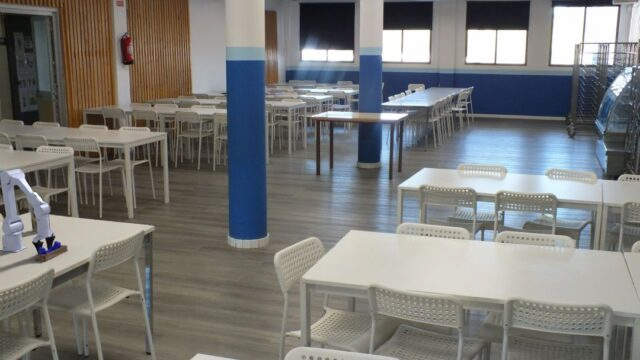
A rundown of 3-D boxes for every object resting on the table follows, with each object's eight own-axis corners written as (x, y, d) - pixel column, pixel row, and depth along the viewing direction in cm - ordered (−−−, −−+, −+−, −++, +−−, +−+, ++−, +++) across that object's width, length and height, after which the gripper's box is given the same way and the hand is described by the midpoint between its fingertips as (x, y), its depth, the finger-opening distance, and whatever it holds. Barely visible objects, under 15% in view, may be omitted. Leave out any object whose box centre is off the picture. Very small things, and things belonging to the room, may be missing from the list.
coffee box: (51, 230, 389) (48, 204, 386) (41, 233, 384) (38, 206, 380) (41, 228, 394) (39, 202, 390) (31, 230, 388) (29, 204, 385)
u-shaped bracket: (35, 260, 335) (35, 255, 335) (57, 249, 353) (57, 244, 352) (46, 261, 334) (45, 255, 333) (67, 250, 351) (67, 245, 350)
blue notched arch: (53, 250, 349) (54, 240, 347) (59, 253, 348) (60, 242, 346) (35, 257, 338) (36, 246, 337) (42, 259, 337) (43, 249, 335)
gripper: (40, 231, 333) (42, 256, 336) (58, 223, 347) (60, 248, 350) (28, 229, 335) (30, 255, 338) (47, 222, 348) (48, 246, 351)
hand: (44, 251), depth 344 cm, fingers open, 7 cm apart
